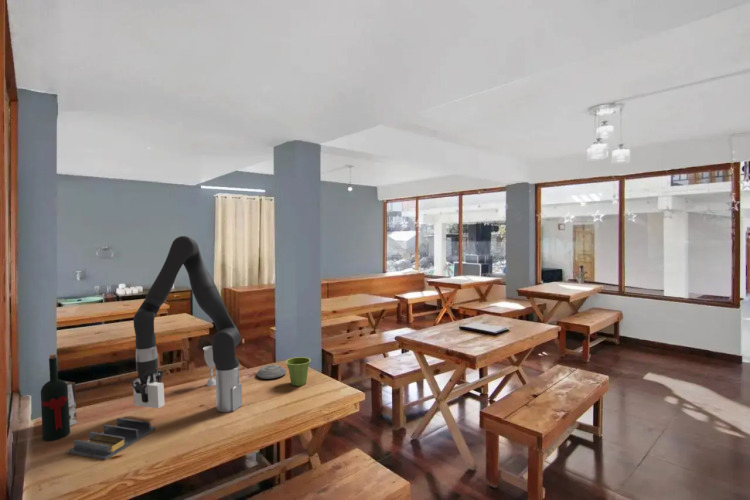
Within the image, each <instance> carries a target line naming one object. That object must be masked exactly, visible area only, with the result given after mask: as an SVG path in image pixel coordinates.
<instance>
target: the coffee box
mask: <svg viewBox="0 0 750 500" xmlns="http://www.w3.org/2000/svg"><path fill="white" fill-rule="evenodd" d="M64 381H65V382H66V383H67V385H68V402H69V419H70V427H71V426H74V425H75V424H77V421H78V420H77V419H78V417H77V400H76V398H77V396H76V382H75V381H74V382H73V381H68V380H67V381H66V380H64ZM43 386H44V385H43ZM43 386H41V388H42V387H43Z"/></svg>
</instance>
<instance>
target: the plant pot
mask: <svg viewBox="0 0 750 500" xmlns="http://www.w3.org/2000/svg"><path fill="white" fill-rule="evenodd" d="M311 361H312V360H311V358H309V357H305V356H304V357H302V356H301V357H300V356H298V357H292V358H288V359H287V360H286V361H285V363H286V365H287V369H288V374H289V379H290V384H291V385H292V386H296V387H302V386H304V385H305V384H307V380H308V373H309V367H310V362H311Z"/></svg>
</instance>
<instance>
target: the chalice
mask: <svg viewBox="0 0 750 500" xmlns="http://www.w3.org/2000/svg"><path fill="white" fill-rule="evenodd" d="M202 350H203V353H204V354H203V356H204V361H205V363H206V365H207V367H209V369H210V370H209V372H210V374H209V376H210V378H209V379H207V382H206V386H207V387H214V386H216V378H214V369H213V367H215V364H214V361H213V351H212V345H208V346H204V347H203V348H202Z"/></svg>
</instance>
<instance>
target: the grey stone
mask: <svg viewBox="0 0 750 500" xmlns="http://www.w3.org/2000/svg"><path fill="white" fill-rule="evenodd" d="M285 374H287V369H286V368H285V367H284V366H282V365H279V364H269V365H265V366H263V367H261V368H259V369H258V371H257V372H256V374H255V375H256V376H257V377H258V378H260V379H263V380H264V379H265V380H269V379H270V380H271V379H272V380H273V379H277V378H280V377H283V376H284V375H285Z"/></svg>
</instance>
